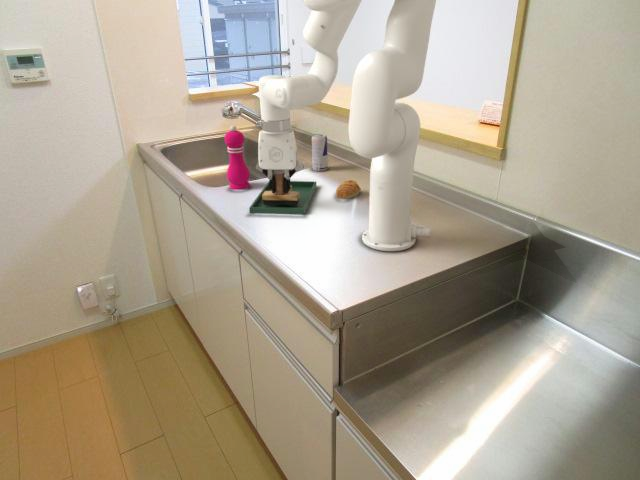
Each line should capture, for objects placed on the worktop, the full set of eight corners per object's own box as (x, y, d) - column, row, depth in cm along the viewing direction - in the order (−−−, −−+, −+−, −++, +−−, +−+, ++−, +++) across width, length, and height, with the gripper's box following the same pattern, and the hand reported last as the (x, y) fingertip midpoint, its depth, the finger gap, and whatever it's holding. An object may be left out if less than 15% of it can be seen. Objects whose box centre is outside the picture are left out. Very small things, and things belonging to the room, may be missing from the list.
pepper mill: (253, 185, 147) (247, 122, 138) (248, 192, 140) (241, 127, 132) (231, 184, 148) (224, 123, 139) (225, 192, 141) (217, 128, 132)
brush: (299, 201, 128) (298, 170, 124) (297, 205, 125) (296, 174, 121) (265, 200, 130) (263, 170, 126) (262, 205, 127) (260, 174, 123)
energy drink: (330, 168, 161) (329, 134, 156) (322, 172, 157) (321, 138, 152) (317, 166, 164) (316, 133, 159) (309, 170, 160) (308, 136, 155)
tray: (316, 188, 142) (316, 181, 141) (304, 217, 121) (304, 209, 120) (269, 187, 144) (269, 180, 143) (250, 215, 123) (249, 207, 122)
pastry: (353, 202, 130) (353, 190, 129) (331, 200, 132) (331, 188, 131) (361, 191, 138) (361, 179, 137) (340, 190, 140) (340, 178, 139)
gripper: (242, 128, 116) (248, 195, 124) (304, 128, 114) (307, 197, 122) (249, 122, 122) (255, 186, 130) (309, 122, 120) (311, 187, 128)
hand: (280, 191), depth 126 cm, fingers closed on brush, 2 cm apart
